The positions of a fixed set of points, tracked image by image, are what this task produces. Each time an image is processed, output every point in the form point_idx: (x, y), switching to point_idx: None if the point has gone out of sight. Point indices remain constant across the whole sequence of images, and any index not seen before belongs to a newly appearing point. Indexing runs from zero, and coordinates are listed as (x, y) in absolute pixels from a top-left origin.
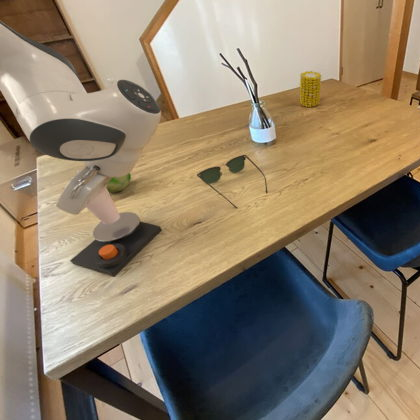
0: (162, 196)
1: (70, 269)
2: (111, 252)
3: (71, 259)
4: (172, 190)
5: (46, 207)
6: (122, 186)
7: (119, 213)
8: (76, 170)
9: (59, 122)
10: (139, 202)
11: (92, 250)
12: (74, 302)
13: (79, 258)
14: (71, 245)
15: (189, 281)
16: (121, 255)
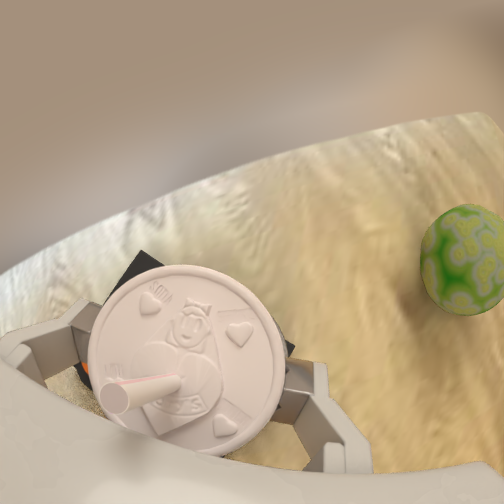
0: (386, 424)
1: (131, 253)
2: (87, 373)
3: (143, 252)
4: (406, 443)
5: (376, 134)
6: (435, 302)
7: (284, 352)
8: (110, 389)
9: None
10: (374, 362)
11: None
12: (44, 292)
13: (138, 271)
14: (219, 226)
15: None
16: (92, 390)
